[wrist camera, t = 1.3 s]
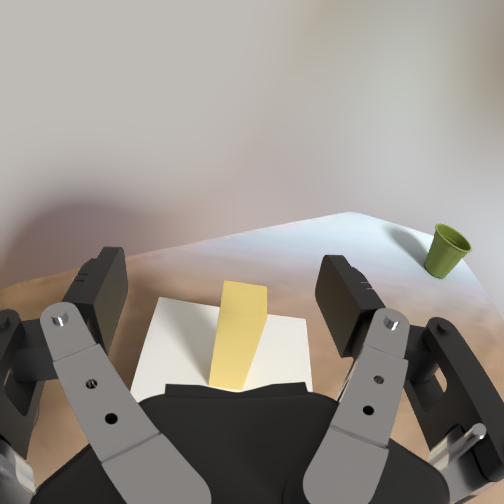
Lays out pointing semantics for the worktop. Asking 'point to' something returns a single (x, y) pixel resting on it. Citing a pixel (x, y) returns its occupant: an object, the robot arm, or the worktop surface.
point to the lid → (222, 345)
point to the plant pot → (445, 251)
